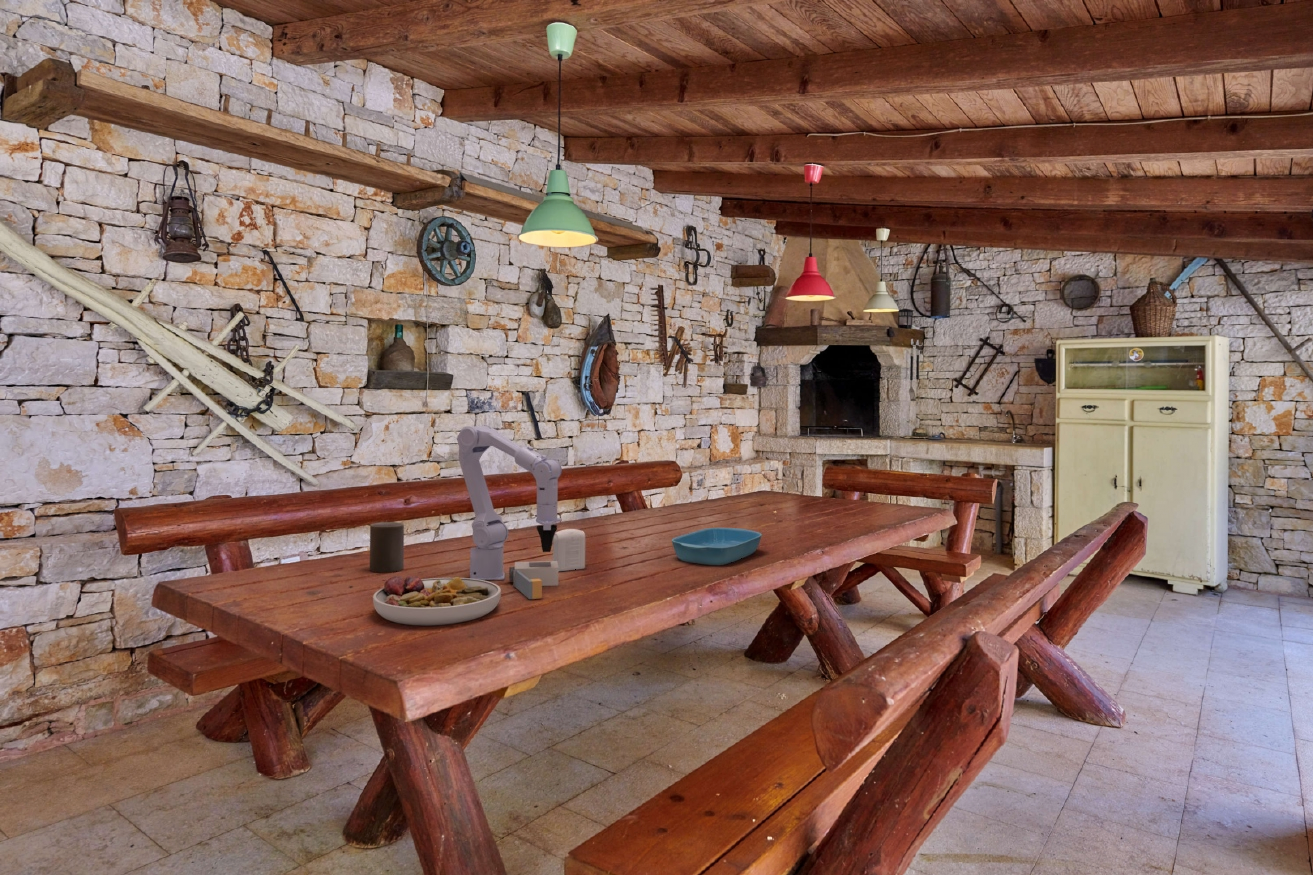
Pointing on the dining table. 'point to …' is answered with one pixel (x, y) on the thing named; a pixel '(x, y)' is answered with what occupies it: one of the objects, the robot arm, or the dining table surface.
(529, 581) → the grey and orange bar
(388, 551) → the pillar candle
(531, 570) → the camera housing
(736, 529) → the casserole dish
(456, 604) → the bowl
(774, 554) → the dining table surface
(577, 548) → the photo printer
